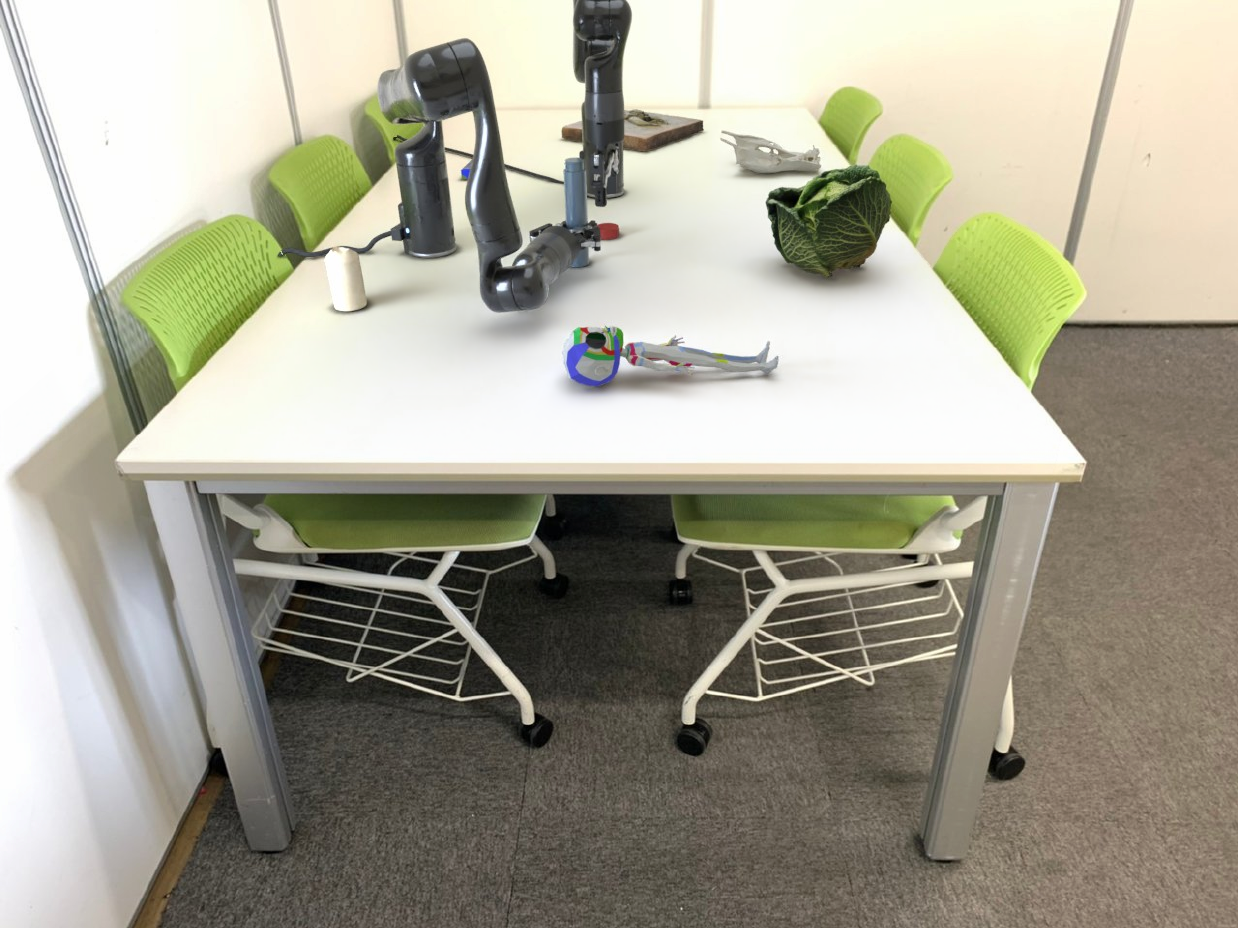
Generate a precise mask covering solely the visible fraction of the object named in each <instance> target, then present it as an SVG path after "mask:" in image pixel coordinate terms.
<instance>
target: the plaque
mask: <svg viewBox="0 0 1238 928" xmlns="http://www.w3.org/2000/svg"><path fill="white" fill-rule="evenodd" d="M704 130H705V129H704V120H702V119H698V118H693V117H685V116H679V115H669V114H663V113H659V112H650V111H644V110H642V109H637V108H636V109H635V108H634V109H630V110H629V109H624V140H623V149H625V150H632V151H640V152H648V151H654V150H656V149H659V148H662V147H663V146H664V147H665V146H667V145H670V144H672V143H676V142H680V141H682V140H684V139H687V138H691V137H692V136H694V135H696V134H698V133H700V132H704ZM561 138H562V139H563V140H568V141H573V142H581V143H583V140H582V120H579V121H577V122H573V123H569V124H567V125H564V126H562V127H561Z"/></svg>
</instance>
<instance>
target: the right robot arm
mask: <svg viewBox="0 0 1238 928" xmlns="http://www.w3.org/2000/svg"><path fill="white" fill-rule="evenodd" d="M572 9H573V13H572V14H573V15H572V69H573V74H574V77H575V80H576V81H577V82H578V83H579V84H584V85H585V86H584V88H585V89H584V90H585V91H584V100H583V102H582V103H581V109H580V112H581V121H582V140H583V142H582V150H580V151H579V153H578V156H579V157H578V158H582V159H584V168H585V169H586V181H587V197H589V198H594V206H595V207H598V208H606V206H607V205H608V199H612V198H617V197H620V196H622V195H624V193H625V188H624V186H625V183H624V181H625V180H624V175H625V174H624V173H625V172H624V148H623V140H624V110H625V99H624V89H623V88H624V87H623V85H624V84H623V83H624V82H623V77H624V76H623V75H624V57H625V50H626V47H627V46H626V45H627V42H628V38H629V34H630V30H631V27H632V21H633V11H632V7H631V5H630V3H629V2H628V0H572ZM396 135H397V137H394V136H392V139H393V140H392V141H396V140H397V139H399V140H400V141H402V142H404V141H406V140H408V139H409V138H405V137H403V136H401V135H400V134H396ZM444 147H445V152H450V153H453V154H454V153H455V154H457V155H460V156H461V155H462V156H466V157H468V158H471V159H473V154H474V153H473V154H472V153H469V152H465V151H461V150H457V149H454V148H450V147H446V146H444ZM504 166H505V169H509V170H512V171H515V172H518V173H522V174H524V175H528V176H532V177H535V178H538V179H542V180H545V181H548V182H552V183H555V184H562V185H564V180H563V181H562V180H559V179H557V178H553V177H551V176H547V175H544V174H539V173H537V172H532V171H529V170H527V169H522V168H519V167H516V166H513V165H509V164H506V163H504Z"/></svg>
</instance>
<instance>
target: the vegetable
mask: <svg viewBox="0 0 1238 928" xmlns="http://www.w3.org/2000/svg"><path fill="white" fill-rule="evenodd" d="M767 196H768V197H767V198H766V200H765V207H766V209H767V219H769V221H770V222H771V223H770V229H771V232H772V237H773V239H774V240H773V244H774V246H775V247H776V250H777V251H778V253H780V255H781V256H782V258H783V259H784V261H785V262H786V264H793V265H794V266H795V267H796V268H799V269H800V270H802V271H804V272H806V273H809V274H813V275H821V276H824V277H825V278H829V276H830V277H833V274H832V273H831V272H834V271H836V270H840V269H848V270H851V268H861V266H862V265H864V264H865V262H866V261H867V259H869V258H870V257H871V256H872V255H873V254H875V252H876V249H877V246H878V242H879V240H880V238H881V235H882V233H883V230H884V228H885V226H886V225H887V224H888V223H889V222H890V220H891V216H890V215H891V214H892V211H891V209H892V204H893V200H892V198H891V194H890V192H889V191H888V189H887V184H886V183H885V180H882V178H881V176H880V173H879V172H878V170H876V169H873V168H871V167H870V165H869V164H868V165H867V164H865V165H863V164H862V165H859V164H852V165H849V166H847V167H846V168H835V169H830V170H825V171H823V172H821V173H820V174H817V175H816V176H814V177H813V178H812V179H811V180H809V181H807V182H806V184H804V185H803V186H800V187H787V186H780V187H778V188H774V189H773V190H770V191H769V192H768V194H767Z"/></svg>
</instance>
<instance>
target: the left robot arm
mask: <svg viewBox="0 0 1238 928" xmlns="http://www.w3.org/2000/svg"><path fill="white" fill-rule="evenodd" d="M376 94H377V100H378V105H379V108H380V111H381V113H382V115H383V117H384V118H385V120H387V122H389V123H390V124H392V125H397V126H398V125H399V126H400V125H403V126H404V125H414V124H422V127H421V129H420V130H419V131H418V132H417V133H416V134H414V135H413V136H411V137H409V138H407V139H408V140H406V141H402V142H400V143H399V144H397V145H396V146H395V147H394V158H395V165H396V171H397V178H398V179H397V180H398V185H399V192H400V198H401V199H400V200H401V202H400V203H398V205H397V209H398V217H399V223H397V224H396V225H395V226H393V227H391V228H390V230H388V231H385V232H382V233H380V234H378V235H376V236H375V237H372V239H371V240H370V242H369V243H368V244H367V245H366V246H363V247H361V248H360V247H353V246H349V245H337V246H336V247H344V248H347V249H351V250H353V251H355V252H356V253H357V254H364V253H368V252H369V251H371V250H372V249H373V248H374V247H375V245H376V244H377V243H378V242H380V241H382V240H383V239H385V238H388V237H391V241H396V242H402V245H403V252H404V254H408V255H410V256H412V257H416V258H423V259H430V258H431V259H432V258H440V257H445V256H448V255H451V254H453V253H454V252H456V251H457V248H458V247H457V243H456V235H455V234H456V233H455V224H454V217H453V209H452V200H451V191H450V183H449V181H450V180H449V175H448V166H447V157H446V151H445V147H446V146H445V138H444V129H443V127H444V126H443V121H446V120H448V119H451V118H454V117H459V116H461V115H464V114H468V113H472V116H473V121H474V130H475V141H474V148H473V158H471V160H472V164H471V168H470V172H469V176H468V179H467V180H466V186H465V193H464V205H465V211H466V216H467V219H468V222H469V225H470V227H471V231H472V234H473V237H474V240H475V243H476V247H477V256H478V268H479V269H478V271H479V272H478V273H479V293H480V297H481V300H482V302H483V303H484V305H485V306H486V308H488V309H489V310H490V311H491V312H494V313H500V314H501V313H512V312H522V311H533V310H536V309H539V308H540V307H542V306H543V305H544V304H545V303H546V302H547V300H548V297H549V291H550V290H549V289H550V287H551V284H552V283H553V282H554V281H555V280H556V279H558V278H559V277H561V276H562V275H563V274H564V273H565V272H566V271H567V270H568V269H569V268H570V267H572V266H571V265H572V263H573V262H574V261H575V260H576V258H577V256H578V254H579V252H580V251H583V250H585V248H586V247H589V248H591V249H593V251H594V252H601V249H602V245H601V244H602V243H601V240H602V239H601V238H600V228H599V227H597V225H598V223H597V222H596V220H594V219H593V220H590V221H588V224H587V225H586V226H585V227H577V228H575V229H573V230H571V229H570V230H568V229H567V228H566V219H565V220H563V221H561V222H558V223H556V224H555V225H553V223H550V222H549V223H546V224H543V225H541V226H538V227H536V228H534V229H531V230H529V243H528V245H527V246H526V247H525V248H524V249H523V250H521V252H520V253H518V255H517V256H516V257H515V258H514V260H513V262H512V265H509V266H503V264H502V259H503V258H505V257H508V256H510V255H513V254H515V253H517V252H518V251H519V250H520V249H521V248H522V246H523V243H524V242H523V241H524V240H523V235H522V231H521V227H520V223H519V220H518V217H517V213H516V210H515V206H514V202H513V200H512V195H511V191H510V188H509V182H508V178H507V171H506V168H505V166H504V164H505V159H504V153H503V147H502V145H503V144H502V139H501V134H500V133H501V132H500V127H499V122H498V116H497V110H496V105H495V98H494V94H493V88H492V82H491V79H490V75H489V72H488V68H487V65H486V62H485V58H484V57H483V54H482V53H481V50H480V49H479V47H478V46H477V44H476V43H475V42H474V41H473V40H471V39H469V38H467V37H463V38H458V39H455V40H451V41H447V42H444V43H440V44H437V45H434V46H429V47H426V48H424V49H423V48H422V49H420V50H418V51H415V52H413V53H412V54H410V55H409V56H407V57H406V59H405V60H404V62H403V64H401V65H400V66H399V67H397V68H395V69H394V68H393V69H387V70H384V71H383V72H382V73H380V75H379V78H378V80H377V89H376ZM333 247H334V246H333ZM333 247H328V248H326V249H322V250H317V251H304V250H300V249H297V248H294V247H284V248H282V249H281V250H280V251H282V253H283V255H284V256H285V255H286V254H290V253H291V254H294V255H297V256H300V257H304V258H318V257H322V256H327V254H328V253H329V252H330V250H331V249H332V248H333ZM280 251H279V252H278V253H277V255H276V257H278V258H280V257H284V256H283V255H282V254H281V252H280Z"/></svg>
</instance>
